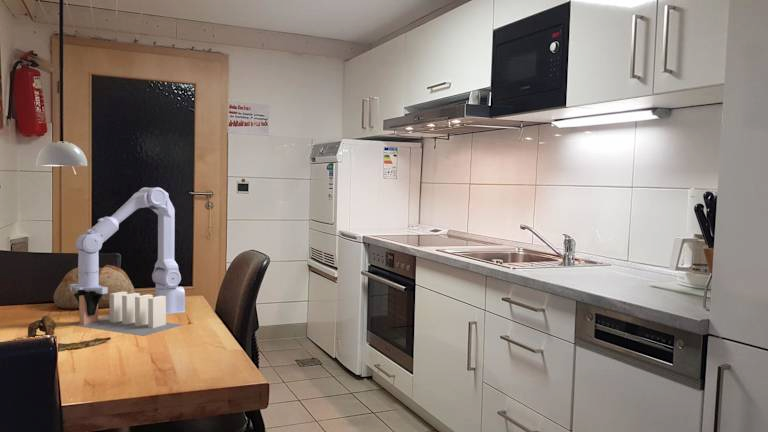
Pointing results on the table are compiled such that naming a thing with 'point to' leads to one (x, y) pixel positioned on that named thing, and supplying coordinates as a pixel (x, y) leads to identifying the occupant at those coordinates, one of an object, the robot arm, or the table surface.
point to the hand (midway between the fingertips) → (88, 314)
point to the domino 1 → (83, 314)
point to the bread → (107, 278)
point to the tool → (49, 327)
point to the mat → (126, 327)
